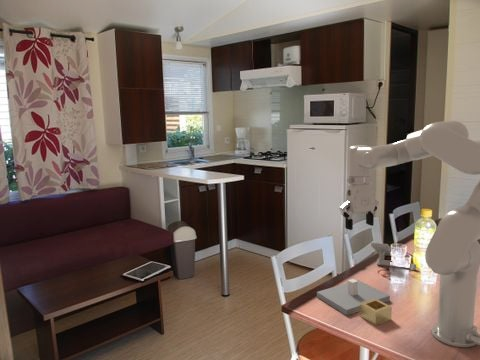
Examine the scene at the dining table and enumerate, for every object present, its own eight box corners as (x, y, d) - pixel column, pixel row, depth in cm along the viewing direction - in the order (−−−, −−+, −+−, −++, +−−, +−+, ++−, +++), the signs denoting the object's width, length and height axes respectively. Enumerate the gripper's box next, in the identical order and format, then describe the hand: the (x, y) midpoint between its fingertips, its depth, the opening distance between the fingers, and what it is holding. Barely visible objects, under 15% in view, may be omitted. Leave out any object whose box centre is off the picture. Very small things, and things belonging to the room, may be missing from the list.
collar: (391, 319, 135) (391, 306, 134) (375, 325, 132) (375, 312, 131) (375, 310, 141) (375, 298, 141) (359, 316, 138) (359, 303, 138)
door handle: (378, 268, 191) (368, 261, 175) (379, 251, 193) (371, 242, 177) (419, 274, 182) (413, 266, 166) (420, 256, 184) (415, 247, 168)
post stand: (389, 300, 148) (390, 282, 147) (346, 315, 139) (346, 296, 138) (357, 284, 162) (358, 267, 161) (316, 297, 153) (316, 279, 152)
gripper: (347, 184, 140) (347, 233, 143) (385, 178, 147) (385, 225, 150) (333, 181, 146) (333, 228, 149) (370, 176, 154) (370, 220, 157)
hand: (359, 226), depth 150 cm, fingers open, 9 cm apart
